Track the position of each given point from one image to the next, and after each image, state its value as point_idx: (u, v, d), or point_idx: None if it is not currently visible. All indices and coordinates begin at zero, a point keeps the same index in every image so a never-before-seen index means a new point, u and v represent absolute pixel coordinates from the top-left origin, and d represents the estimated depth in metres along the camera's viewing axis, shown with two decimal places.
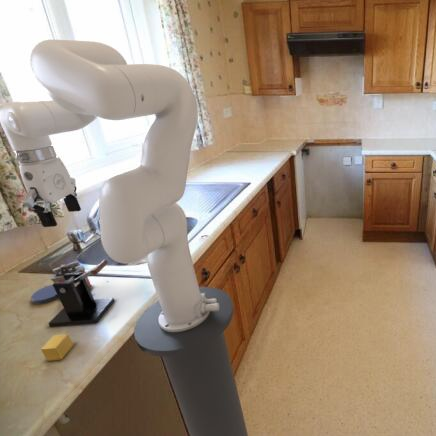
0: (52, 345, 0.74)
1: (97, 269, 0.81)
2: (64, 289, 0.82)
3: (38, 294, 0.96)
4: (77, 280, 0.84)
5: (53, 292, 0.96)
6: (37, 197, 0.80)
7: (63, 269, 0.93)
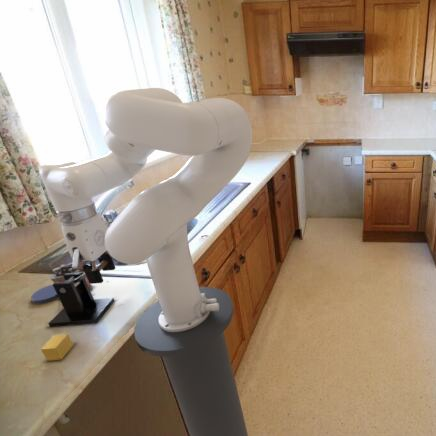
0: (52, 345, 0.74)
1: None
2: (64, 289, 0.82)
3: (38, 294, 0.96)
4: (77, 280, 0.84)
5: (53, 292, 0.96)
6: None
7: (63, 269, 0.93)
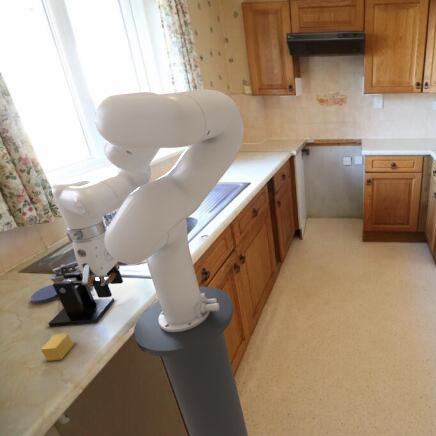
0: (52, 345, 0.74)
1: (107, 283, 0.83)
2: (64, 289, 0.82)
3: (38, 294, 0.96)
4: (80, 284, 0.84)
5: (53, 292, 0.96)
6: None
7: (63, 269, 0.93)
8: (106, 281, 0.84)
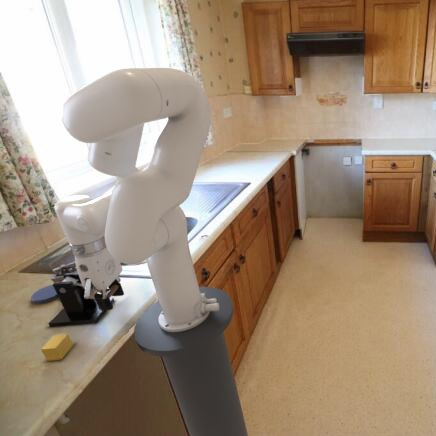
0: (52, 345, 0.74)
1: (110, 296, 0.85)
2: (64, 289, 0.82)
3: (38, 294, 0.96)
4: (80, 287, 0.85)
5: (53, 292, 0.96)
6: None
7: (63, 269, 0.93)
8: (109, 294, 0.85)
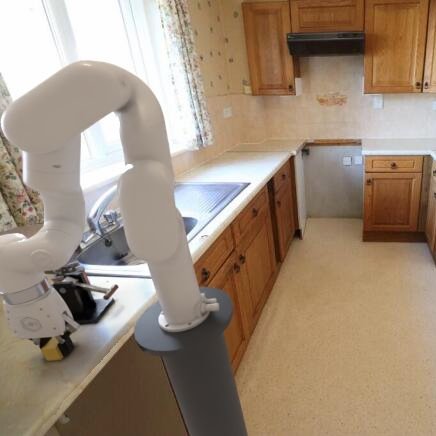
0: (52, 345, 0.74)
1: (110, 296, 0.85)
2: (64, 289, 0.82)
3: None
4: (80, 287, 0.85)
5: None
6: None
7: (63, 269, 0.93)
8: (109, 294, 0.85)
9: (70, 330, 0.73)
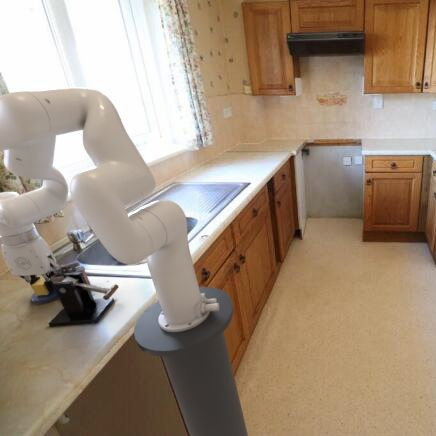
0: (40, 283, 0.94)
1: (110, 296, 0.85)
2: (64, 289, 0.82)
3: None
4: (80, 287, 0.85)
5: (53, 292, 0.96)
6: None
7: (63, 269, 0.93)
8: (109, 294, 0.85)
9: None
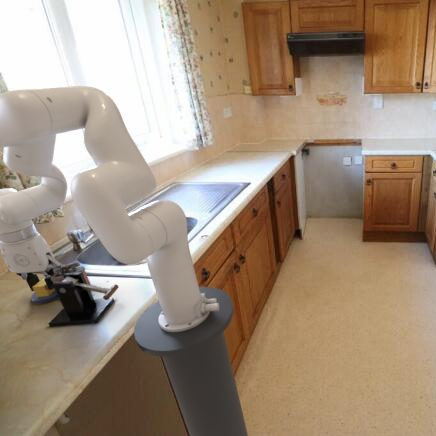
0: (41, 284, 0.94)
1: (110, 296, 0.85)
2: (64, 289, 0.82)
3: None
4: (80, 287, 0.85)
5: (53, 292, 0.96)
6: None
7: (63, 269, 0.93)
8: (109, 294, 0.85)
9: (54, 267, 0.93)
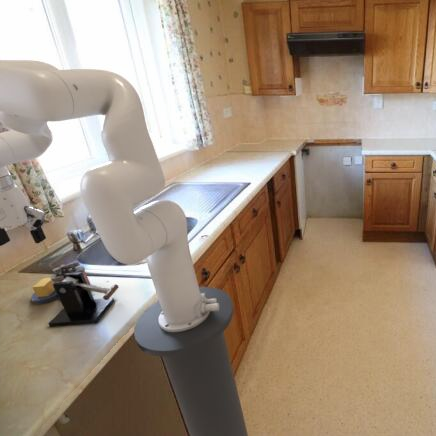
0: (41, 284, 0.94)
1: (110, 296, 0.85)
2: (64, 289, 0.82)
3: None
4: (80, 287, 0.85)
5: (53, 292, 0.96)
6: None
7: (63, 269, 0.93)
8: (109, 294, 0.85)
9: (38, 217, 0.86)
